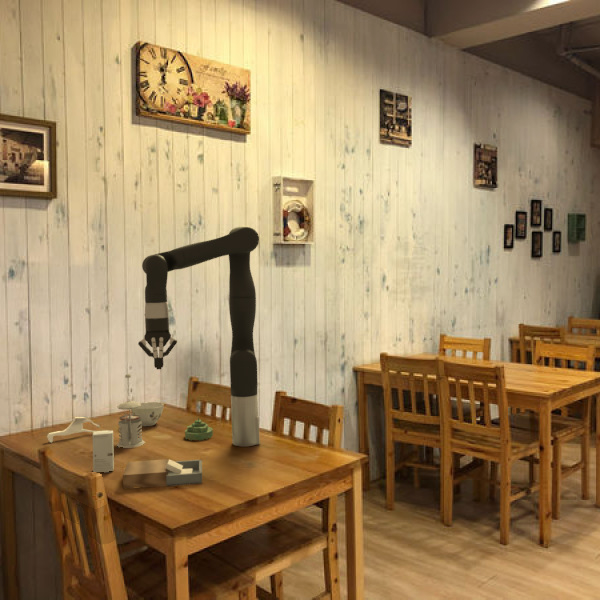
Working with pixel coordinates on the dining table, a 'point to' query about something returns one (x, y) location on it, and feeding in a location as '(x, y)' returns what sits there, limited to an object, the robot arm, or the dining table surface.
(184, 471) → the tile
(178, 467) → the tile
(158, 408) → the teacup
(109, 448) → the skincare box
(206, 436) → the decorative artifact
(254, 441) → the robot arm
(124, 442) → the french press
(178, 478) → the tray
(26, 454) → the dining table surface
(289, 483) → the dining table surface
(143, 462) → the board
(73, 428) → the white clothes hanger
